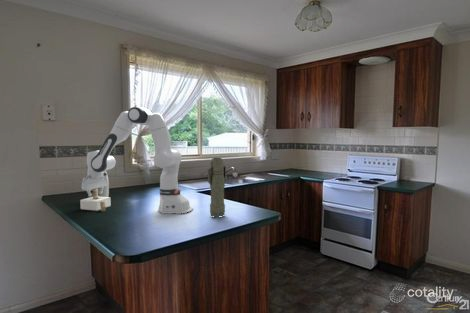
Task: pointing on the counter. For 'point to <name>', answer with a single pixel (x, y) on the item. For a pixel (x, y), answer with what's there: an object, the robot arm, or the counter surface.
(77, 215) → the counter surface
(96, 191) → the long pin
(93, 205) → the hole block
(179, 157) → the robot arm
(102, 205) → the short pin
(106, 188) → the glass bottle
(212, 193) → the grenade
